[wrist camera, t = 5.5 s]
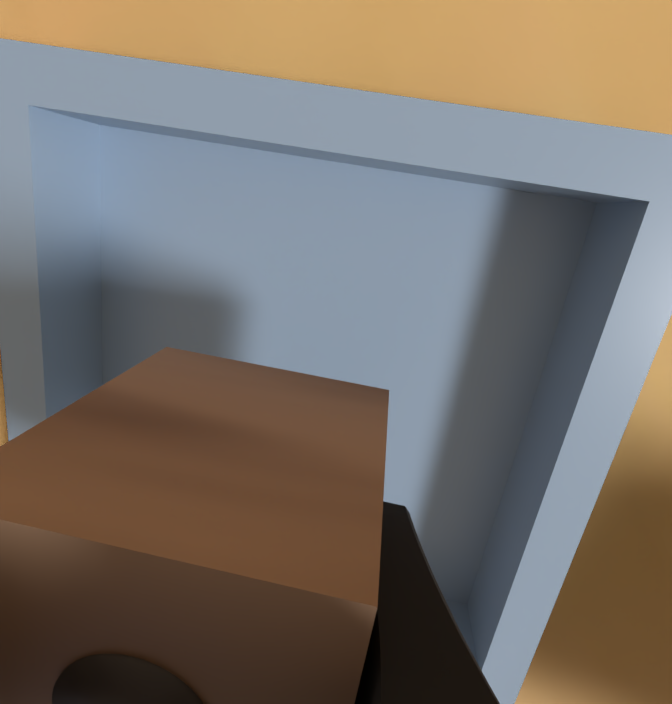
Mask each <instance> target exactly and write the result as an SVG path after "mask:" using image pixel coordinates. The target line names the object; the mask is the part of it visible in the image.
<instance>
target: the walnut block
mask: <svg viewBox="0 0 672 704" xmlns="http://www.w3.org/2000/svg"><path fill="white" fill-rule="evenodd" d="M388 405H389V390H387V389H382V388H377V387H371V386H366V385H361V384H356V383H351V382H346V381H340V380H335V379H330V378H325V377H320V376H315V375H310V374H304V373H299V372H294V371H289V370H284V369H279V368H273V367H268V366H263V365H258V364H253V363H248V362H242V361H237V360H232V359H227V358H222V357H217V356H211V355H206V354H201V353H196V352H191V351H186V350H181V349H175V348H170V347H165V348H164V349H162V350H160V351H159V352H157V353H155V354H154V355H152V356H150V357H149V358H147V359H145V360H144V361H142V362H140V363H139V364H137V365H135V366H134V367H132V368H130V369H129V370H127V371H125V372H124V373H122V374H120V375H119V376H117V377H115V378H114V379H112V380H110V381H109V382H107V383H105V384H104V385H102V386H100V387H99V388H97V389H95V390H94V391H92V392H90V393H89V394H87V395H85V396H84V397H82V398H80V399H79V400H77V401H75V402H74V403H72V404H70V405H69V406H67V407H65V408H64V409H62V410H60V411H59V412H57V413H55V414H54V415H52V416H50V417H49V418H47V419H45V420H44V421H42V422H40V423H39V424H37V425H35V426H34V427H32V428H30V429H29V430H27V431H25V432H24V433H22V434H20V435H19V436H17V437H15V438H14V439H12V440H10V441H9V442H7V443H5V444H4V445H2V446H0V704H354V703H355V699H356V695H357V691H358V687H359V682H360V678H361V674H362V670H363V666H364V662H365V657H366V653H367V649H368V645H369V641H370V636H371V632H372V628H373V624H374V620H375V616H376V611H377V607H378V590H379V571H380V553H381V534H382V516H383V497H384V479H385V460H386V442H387V423H388Z"/></svg>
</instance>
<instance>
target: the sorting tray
mask: <svg viewBox="0 0 672 704" xmlns="http://www.w3.org/2000/svg"><path fill="white" fill-rule="evenodd" d="M671 314H672V135H669V134H662V133H655V132H648V131H641V130H634V129H627V128H620V127H613V126H606V125H599V124H592V123H585V122H578V121H571V120H564V119H557V118H550V117H543V116H536V115H529V114H522V113H515V112H509V111H502V110H495V109H488V108H481V107H474V106H467V105H460V104H453V103H446V102H439V101H432V100H425V99H418V98H411V97H404V96H397V95H390V94H383V93H376V92H369V91H362V90H356V89H349V88H342V87H335V86H328V85H321V84H314V83H307V82H300V81H293V80H286V79H279V78H272V77H265V76H258V75H251V74H244V73H237V72H230V71H223V70H216V69H209V68H202V67H196V66H189V65H182V64H175V63H168V62H161V61H154V60H147V59H140V58H133V57H126V56H119V55H112V54H105V53H98V52H91V51H84V50H77V49H70V48H63V47H56V46H49V45H42V44H36V43H29V42H22V41H15V40H8V39H1V38H0V351H1V362H2V373H3V384H4V396H5V407H6V418H7V429H8V441H10V440H12V439H14V438H15V437H17V436H19V435H20V434H22V433H24V432H25V431H27V430H29V429H30V428H32V427H34V426H35V425H37V424H39V423H40V422H42V421H44V420H45V419H47V418H49V417H50V416H52V415H54V414H55V413H57V412H59V411H60V410H62V409H64V408H65V407H67V406H69V405H70V404H72V403H74V402H75V401H77V400H79V399H80V398H82V397H84V396H85V395H87V394H89V393H90V392H92V391H94V390H95V389H97V388H99V387H100V386H102V385H104V384H105V383H107V382H109V381H110V380H112V379H114V378H115V377H117V376H119V375H120V374H122V373H124V372H125V371H127V370H129V369H130V368H132V367H134V366H135V365H137V364H139V363H140V362H142V361H144V360H145V359H147V358H149V357H150V356H152V355H154V354H155V353H157V352H159V351H160V350H162V349H164V348H165V347H170V348H175V349H181V350H186V351H191V352H196V353H201V354H206V355H211V356H217V357H222V358H227V359H232V360H237V361H242V362H248V363H253V364H258V365H263V366H268V367H273V368H279V369H284V370H289V371H294V372H299V373H304V374H310V375H315V376H320V377H325V378H330V379H335V380H340V381H346V382H351V383H356V384H361V385H366V386H371V387H377V388H382V389H387V390H389V405H388V423H387V442H386V460H385V479H384V497H383V501H384V502H389V503H393V504H398V505H403V506H405V507H406V508H407V510H408V511H409V513H410V516H411V519H412V522H413V525H414V528H415V530H416V533H417V536H418V538H419V541H420V543H421V546H422V548H423V551H424V553H425V556H426V558H427V560H428V563H429V565H430V568H431V570H432V572H433V574H434V577H435V579H436V581H437V583H438V586H439V588H440V590H441V592H442V594H443V596H444V598H445V600H446V602H447V604H448V607H449V609H450V611H451V613H452V615H453V617H454V619H455V621H456V623H457V625H458V627H459V629H460V631H461V633H462V635H463V637H464V639H465V641H466V643H467V645H468V647H469V649H470V650H471V652H472V654H473V656H474V658H475V660H476V661H477V663H478V665H479V667H480V669H481V671H482V673H483V674H484V676H485V678H486V680H487V682H488V684H489V685H490V687H491V689H492V691H493V692H494V694H495V696H496V698H497V699H498V701H499V703H500V704H514V703H515V701H516V698H517V696H518V693H519V691H520V688H521V686H522V684H523V681H524V679H525V676H526V674H527V671H528V669H529V666H530V664H531V661H532V659H533V656H534V654H535V651H536V649H537V646H538V644H539V641H540V639H541V636H542V634H543V631H544V629H545V627H546V624H547V622H548V619H549V617H550V614H551V612H552V609H553V607H554V604H555V602H556V599H557V597H558V594H559V592H560V589H561V587H562V584H563V582H564V579H565V577H566V575H567V572H568V570H569V567H570V565H571V562H572V560H573V557H574V555H575V552H576V550H577V547H578V545H579V542H580V540H581V537H582V535H583V532H584V530H585V527H586V525H587V522H588V520H589V518H590V515H591V513H592V510H593V508H594V505H595V503H596V500H597V498H598V495H599V493H600V490H601V488H602V485H603V483H604V480H605V478H606V475H607V473H608V470H609V468H610V466H611V463H612V461H613V458H614V456H615V453H616V451H617V448H618V446H619V443H620V441H621V438H622V436H623V433H624V431H625V428H626V426H627V423H628V421H629V418H630V416H631V413H632V411H633V409H634V406H635V404H636V401H637V399H638V396H639V394H640V391H641V389H642V386H643V384H644V381H645V379H646V376H647V374H648V371H649V369H650V366H651V364H652V361H653V359H654V357H655V354H656V352H657V349H658V347H659V344H660V342H661V339H662V337H663V334H664V332H665V329H666V327H667V324H668V322H669V319H670V317H671Z"/></svg>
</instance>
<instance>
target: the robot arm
mask: <svg viewBox="0 0 672 704" xmlns="http://www.w3.org/2000/svg"><path fill="white" fill-rule="evenodd" d="M354 704H500V703H499V701H498V699H497V698H496V696H495V694H494V692H493V691H492V689H491V687H490V685H489V684H488V682H487V680H486V678H485V676H484V674H483V673H482V671H481V669H480V667H479V665H478V663H477V661H476V660H475V658H474V656H473V654H472V652H471V650H470V649H469V647H468V645H467V643H466V641H465V639H464V637H463V635H462V633H461V631H460V629H459V627H458V625H457V623H456V621H455V619H454V617H453V615H452V613H451V611H450V609H449V607H448V604H447V602H446V600H445V598H444V596H443V594H442V592H441V590H440V588H439V586H438V583H437V581H436V579H435V577H434V574H433V572H432V570H431V568H430V565H429V563H428V560H427V558H426V556H425V553H424V551H423V548H422V546H421V543H420V541H419V538H418V536H417V533H416V530H415V528H414V525H413V522H412V519H411V516H410V513H409V511H408V510H407V508H406V507H405V506H403V505H398V504H393V503H389V502H384V501H383V516H382V534H381V553H380V571H379V590H378V607H377V611H376V616H375V620H374V624H373V628H372V632H371V636H370V641H369V645H368V649H367V653H366V657H365V662H364V666H363V670H362V674H361V678H360V682H359V687H358V691H357V695H356V699H355V703H354Z"/></svg>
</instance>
